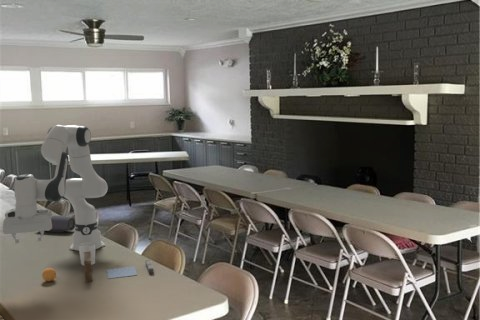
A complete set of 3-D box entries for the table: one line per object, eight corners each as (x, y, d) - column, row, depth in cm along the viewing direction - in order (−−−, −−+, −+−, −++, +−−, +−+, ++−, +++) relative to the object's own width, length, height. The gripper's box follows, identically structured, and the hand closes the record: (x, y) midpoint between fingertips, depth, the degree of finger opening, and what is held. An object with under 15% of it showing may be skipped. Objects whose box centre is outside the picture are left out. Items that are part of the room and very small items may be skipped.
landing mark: (106, 270, 249) (106, 269, 249) (134, 266, 252) (134, 266, 252) (108, 278, 236) (108, 278, 236) (137, 275, 240) (137, 274, 240)
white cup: (79, 267, 254) (78, 247, 253) (80, 262, 262) (78, 243, 261) (96, 265, 256) (95, 245, 255) (96, 260, 264) (95, 241, 263)
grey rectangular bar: (145, 265, 254) (145, 260, 254) (149, 264, 255) (149, 259, 255) (149, 274, 241) (149, 269, 241) (153, 273, 242) (153, 268, 241)
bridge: (85, 282, 232) (84, 261, 231) (85, 271, 247) (83, 252, 246) (92, 281, 233) (91, 260, 232) (91, 271, 248) (90, 251, 246)
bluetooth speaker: (36, 232, 324) (35, 216, 323) (45, 228, 333) (44, 213, 332) (67, 234, 318) (66, 218, 317) (76, 230, 327) (75, 215, 326)
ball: (43, 279, 237) (42, 267, 236) (56, 278, 239) (56, 265, 238) (42, 284, 231) (41, 271, 231) (56, 282, 233) (55, 269, 232)
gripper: (51, 208, 235) (53, 238, 236) (2, 211, 229) (5, 242, 230) (51, 210, 229) (53, 241, 230) (0, 214, 223) (3, 245, 224)
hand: (28, 241), depth 230 cm, fingers open, 8 cm apart
